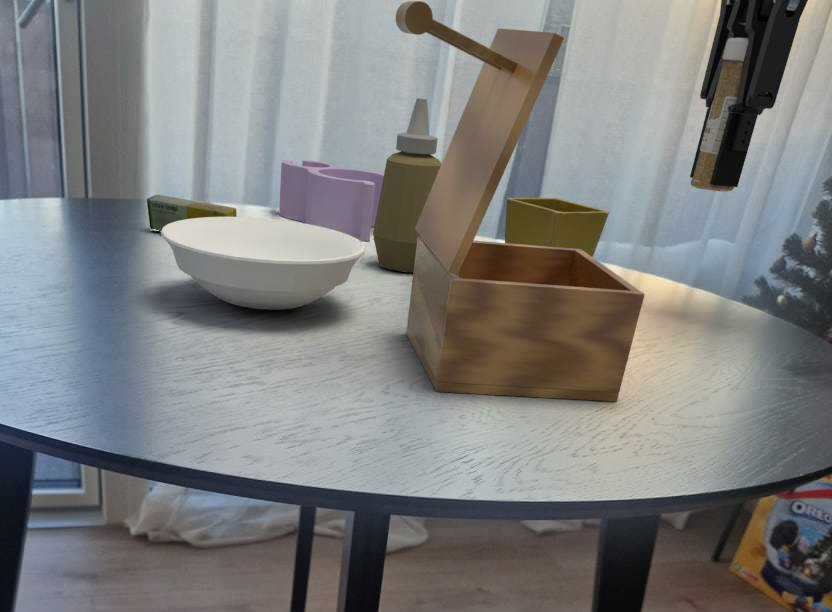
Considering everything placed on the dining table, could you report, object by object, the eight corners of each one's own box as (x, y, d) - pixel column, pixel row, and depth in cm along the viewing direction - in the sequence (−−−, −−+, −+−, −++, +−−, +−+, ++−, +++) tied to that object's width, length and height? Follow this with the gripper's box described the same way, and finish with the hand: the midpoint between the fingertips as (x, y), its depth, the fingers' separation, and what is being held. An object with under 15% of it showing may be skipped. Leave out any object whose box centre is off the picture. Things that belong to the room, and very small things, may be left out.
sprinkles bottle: (689, 184, 100) (726, 37, 93) (732, 189, 100) (773, 41, 92) (689, 188, 97) (729, 36, 89) (734, 194, 96) (778, 40, 89)
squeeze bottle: (381, 257, 117) (398, 93, 107) (442, 267, 115) (465, 102, 105) (360, 268, 111) (376, 95, 101) (425, 279, 109) (447, 104, 99)
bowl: (318, 279, 104) (322, 218, 101) (391, 331, 89) (399, 261, 86) (142, 279, 97) (140, 213, 93) (190, 335, 82) (190, 260, 79)
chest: (560, 343, 91) (581, 248, 86) (617, 402, 78) (645, 294, 73) (405, 333, 89) (417, 235, 84) (435, 391, 76) (452, 279, 71)
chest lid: (506, 32, 76) (399, -25, 73) (564, 37, 62) (435, -32, 60) (422, 232, 84) (322, 188, 81) (457, 275, 71) (339, 224, 68)
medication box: (148, 232, 117) (144, 197, 115) (161, 227, 119) (157, 193, 117) (227, 246, 113) (225, 211, 111) (239, 241, 115) (238, 206, 112)
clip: (258, 213, 134) (260, 160, 131) (322, 209, 142) (325, 159, 138) (352, 242, 123) (357, 185, 119) (416, 236, 131) (422, 183, 127)
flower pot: (541, 273, 118) (556, 196, 113) (592, 290, 112) (611, 210, 107) (491, 277, 113) (505, 197, 108) (543, 295, 108) (559, 212, 103)
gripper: (710, -93, 92) (649, 168, 105) (798, -114, 77) (714, 191, 90) (780, -84, 93) (711, 173, 106) (880, -103, 78) (786, 197, 91)
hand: (713, 181), depth 98 cm, fingers closed on sprinkles bottle, 4 cm apart
